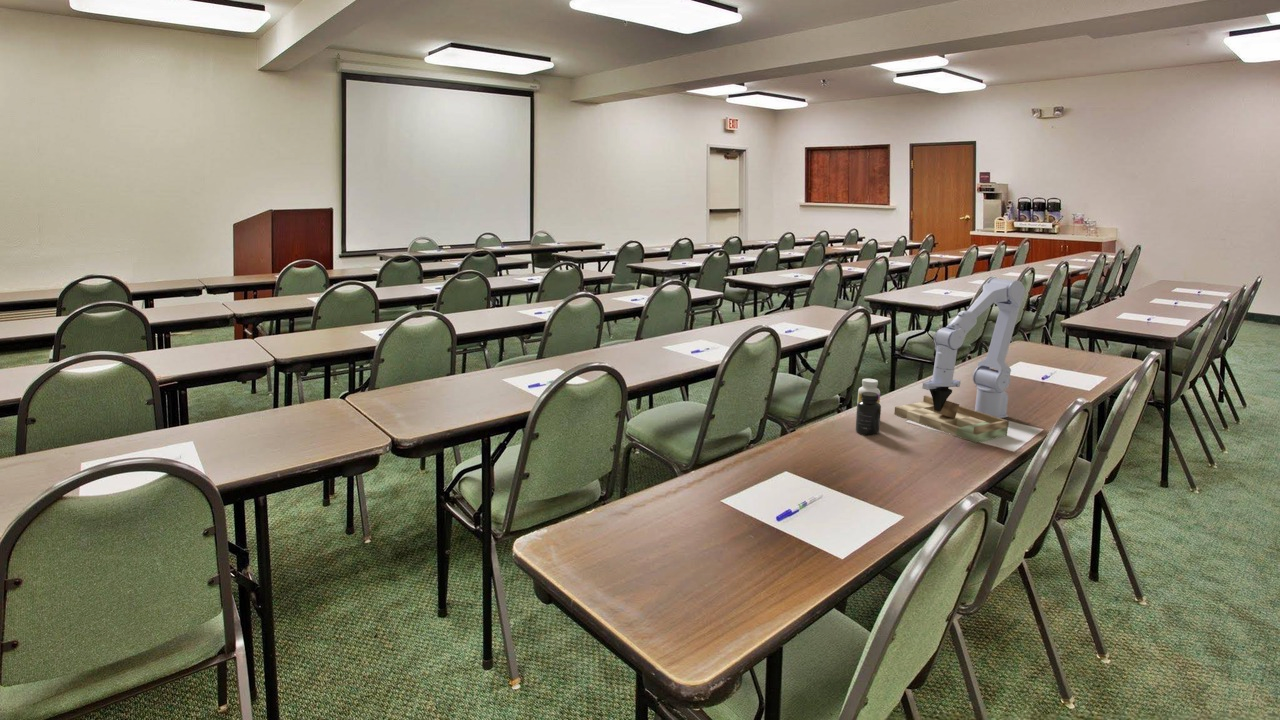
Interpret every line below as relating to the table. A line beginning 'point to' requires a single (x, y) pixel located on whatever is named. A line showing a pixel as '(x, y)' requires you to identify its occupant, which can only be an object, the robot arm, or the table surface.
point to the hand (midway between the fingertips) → (937, 410)
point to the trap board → (955, 421)
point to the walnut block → (949, 409)
